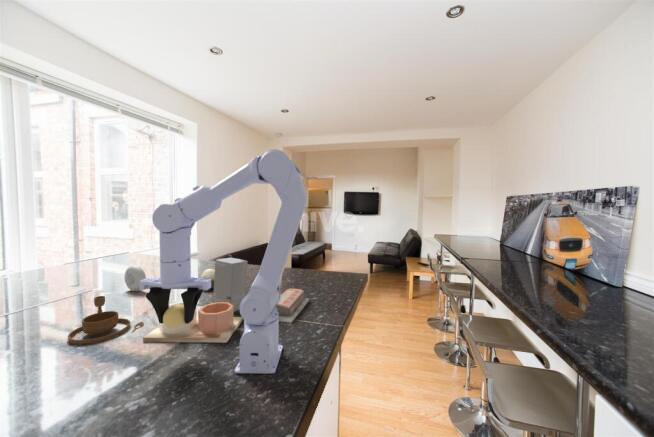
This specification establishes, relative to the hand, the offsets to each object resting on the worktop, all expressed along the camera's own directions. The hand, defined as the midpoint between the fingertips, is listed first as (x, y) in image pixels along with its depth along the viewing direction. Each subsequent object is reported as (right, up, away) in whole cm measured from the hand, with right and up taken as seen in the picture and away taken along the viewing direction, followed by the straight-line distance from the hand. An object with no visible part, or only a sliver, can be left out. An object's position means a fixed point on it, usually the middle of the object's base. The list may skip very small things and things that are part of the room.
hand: (176, 321), depth 55 cm
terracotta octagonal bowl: (+4, -7, +11) cm, 14 cm away
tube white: (-6, -7, +11) cm, 15 cm away
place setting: (-26, -7, +13) cm, 30 cm away
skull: (-15, -6, +47) cm, 50 cm away
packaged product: (+20, -7, +26) cm, 34 cm away
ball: (0, +1, 0) cm, 1 cm away
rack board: (-1, -7, +11) cm, 13 cm away
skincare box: (+2, -7, +26) cm, 27 cm away
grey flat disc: (-40, -5, +41) cm, 58 cm away
